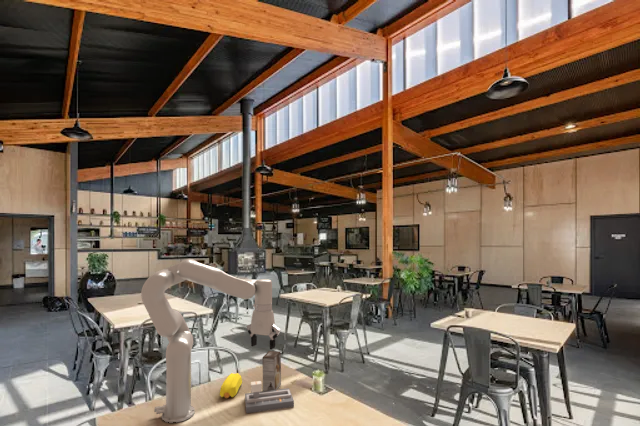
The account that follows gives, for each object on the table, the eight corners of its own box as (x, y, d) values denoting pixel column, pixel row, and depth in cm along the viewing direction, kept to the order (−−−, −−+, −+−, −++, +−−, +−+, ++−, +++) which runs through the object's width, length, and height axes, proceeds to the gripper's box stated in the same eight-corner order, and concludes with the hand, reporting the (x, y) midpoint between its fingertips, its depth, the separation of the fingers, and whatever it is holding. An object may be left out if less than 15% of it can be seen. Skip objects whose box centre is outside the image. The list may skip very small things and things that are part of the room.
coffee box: (269, 383, 171) (268, 350, 172) (281, 384, 170) (281, 351, 171) (262, 391, 162) (262, 356, 163) (275, 392, 161) (275, 357, 162)
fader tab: (251, 400, 148) (251, 384, 149) (250, 397, 151) (250, 381, 152) (261, 399, 149) (261, 383, 150) (260, 395, 152) (260, 380, 153)
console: (246, 413, 143) (246, 404, 143) (245, 399, 155) (245, 391, 156) (293, 406, 148) (293, 398, 148) (289, 393, 160) (289, 385, 160)
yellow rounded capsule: (217, 400, 154) (234, 400, 154) (217, 385, 155) (234, 385, 155) (228, 383, 172) (243, 383, 172) (228, 369, 173) (243, 369, 173)
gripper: (242, 307, 154) (241, 346, 152) (275, 311, 146) (275, 352, 145) (252, 304, 160) (252, 342, 159) (284, 307, 153) (284, 347, 152)
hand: (263, 347), depth 152 cm, fingers open, 9 cm apart
